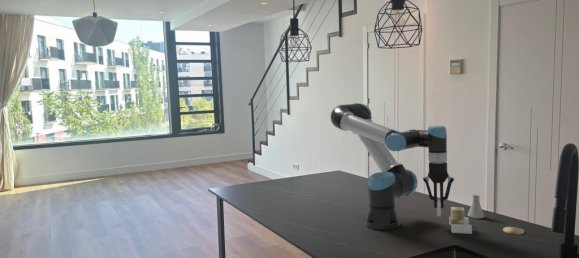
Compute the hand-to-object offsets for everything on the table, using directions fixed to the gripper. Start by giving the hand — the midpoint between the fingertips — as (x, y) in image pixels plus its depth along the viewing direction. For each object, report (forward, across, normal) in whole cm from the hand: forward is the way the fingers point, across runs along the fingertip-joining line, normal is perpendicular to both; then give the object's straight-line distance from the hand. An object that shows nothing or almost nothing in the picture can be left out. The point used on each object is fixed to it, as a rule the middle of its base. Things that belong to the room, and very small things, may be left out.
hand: (438, 215), depth 190 cm
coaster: (+6, +30, 0) cm, 30 cm away
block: (+6, +8, 0) cm, 10 cm away
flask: (+6, +18, +19) cm, 27 cm away
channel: (+6, +9, 0) cm, 10 cm away
